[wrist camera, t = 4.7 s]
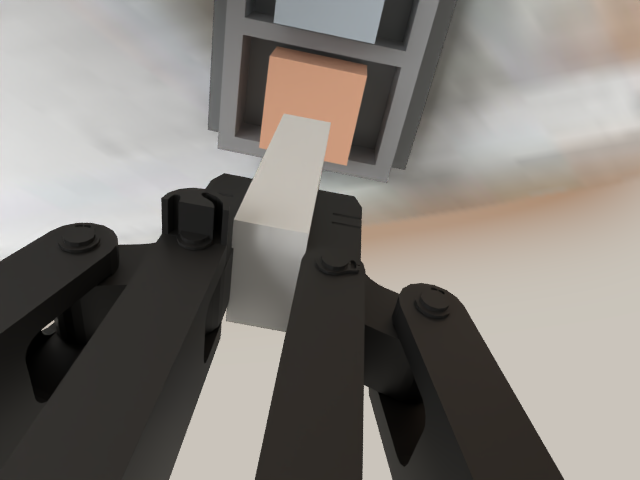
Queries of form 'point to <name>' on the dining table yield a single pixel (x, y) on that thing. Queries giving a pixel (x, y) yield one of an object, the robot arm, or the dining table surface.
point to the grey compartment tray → (381, 58)
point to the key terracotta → (314, 96)
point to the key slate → (332, 17)
